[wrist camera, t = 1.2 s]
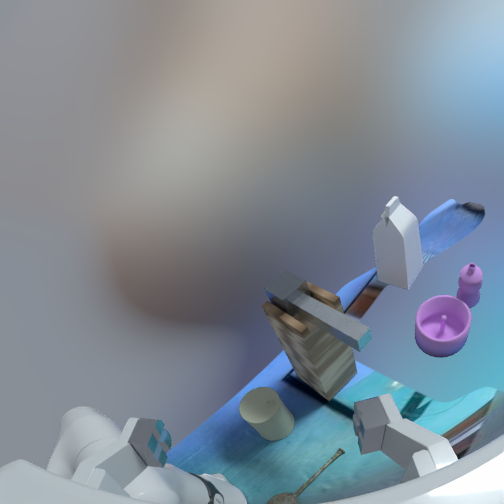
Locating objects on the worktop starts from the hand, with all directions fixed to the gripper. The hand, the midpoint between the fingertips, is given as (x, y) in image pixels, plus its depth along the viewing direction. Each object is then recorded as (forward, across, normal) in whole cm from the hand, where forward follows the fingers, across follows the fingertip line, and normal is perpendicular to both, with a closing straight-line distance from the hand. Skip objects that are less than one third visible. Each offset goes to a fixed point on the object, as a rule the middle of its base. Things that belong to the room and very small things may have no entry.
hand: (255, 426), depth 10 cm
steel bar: (+38, +7, -17) cm, 42 cm away
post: (+49, +9, -40) cm, 64 cm away
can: (+39, -4, -46) cm, 61 cm away
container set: (+48, +46, -34) cm, 74 cm away
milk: (+74, +40, -27) cm, 88 cm away
